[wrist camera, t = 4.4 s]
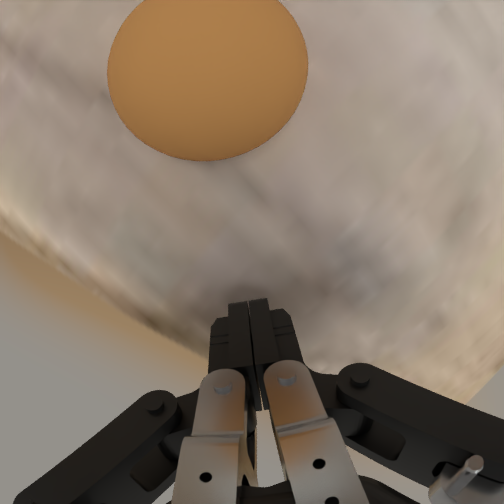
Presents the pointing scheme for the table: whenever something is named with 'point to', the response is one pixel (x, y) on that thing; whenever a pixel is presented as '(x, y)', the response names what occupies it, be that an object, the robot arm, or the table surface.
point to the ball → (207, 75)
